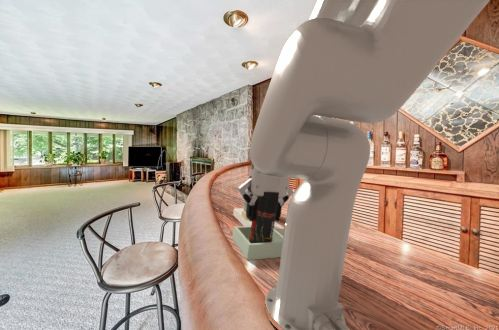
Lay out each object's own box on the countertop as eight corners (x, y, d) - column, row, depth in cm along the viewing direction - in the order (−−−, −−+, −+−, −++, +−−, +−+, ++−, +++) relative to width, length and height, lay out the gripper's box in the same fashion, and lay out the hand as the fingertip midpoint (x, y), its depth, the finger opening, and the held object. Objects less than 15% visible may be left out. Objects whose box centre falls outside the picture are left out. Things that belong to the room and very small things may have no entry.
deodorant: (269, 252, 55) (278, 194, 53) (246, 247, 56) (254, 190, 54) (272, 242, 60) (280, 189, 59) (251, 237, 61) (258, 186, 60)
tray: (289, 256, 55) (291, 242, 55) (246, 259, 51) (248, 245, 50) (268, 237, 66) (270, 225, 66) (232, 238, 61) (233, 226, 61)
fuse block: (283, 236, 68) (289, 197, 67) (254, 237, 64) (259, 196, 63) (256, 214, 87) (260, 184, 87) (233, 214, 84) (237, 183, 83)
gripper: (245, 148, 50) (236, 225, 51) (308, 156, 56) (298, 223, 57) (235, 147, 57) (227, 214, 58) (292, 154, 63) (283, 214, 64)
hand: (263, 218), depth 58 cm, fingers open, 6 cm apart
